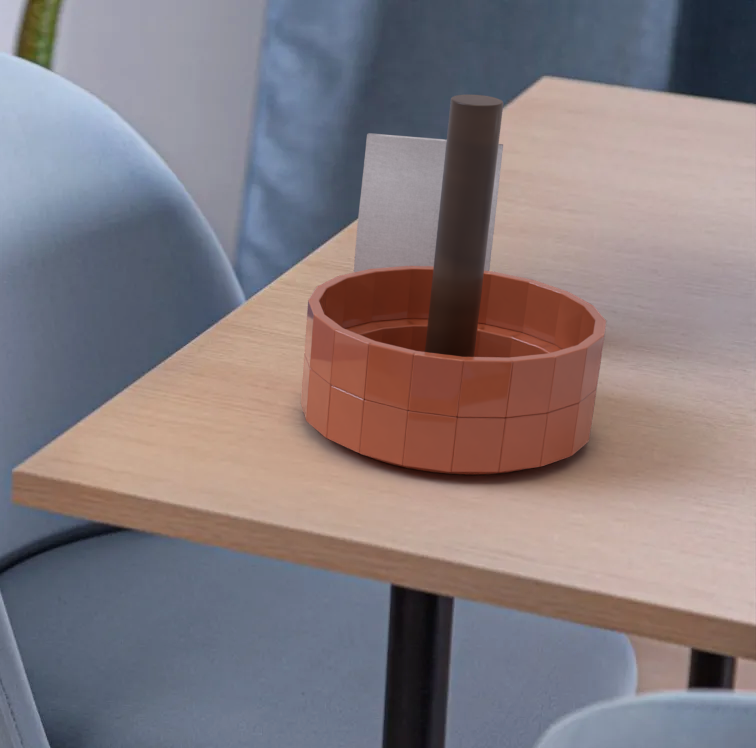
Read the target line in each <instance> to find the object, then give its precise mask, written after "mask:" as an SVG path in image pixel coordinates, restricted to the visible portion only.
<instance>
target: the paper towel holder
mask: <svg viewBox="0 0 756 748" xmlns="http://www.w3.org/2000/svg"><path fill="white" fill-rule="evenodd" d="M503 111H504V101H503V100H502V99H499V98H497V97H494V96H489V95H483V94H457V95H454V96H452V97H451V98H450V102H449V111H448V121H447V131H446V140H447V141H446V151H445V160H444V170H443V180H442V190H441V199H440V209H439V219H438V228H437V238H436V248H435V258H434V267H433V277H432V287H431V297H430V306H429V316H428V326H427V336H426V345H425V352H428V353H436V354H445V355H453V356H461V357H474V354H475V345H476V336H477V328H478V319H479V310H480V302H481V293H482V284H483V276H484V267H485V258H486V250H487V241H488V232H489V224H490V215H491V206H492V198H493V189H494V180H495V172H496V163H497V154H498V146H499V144H500V136H501V128H502V127H501V126H502V119H503Z"/></svg>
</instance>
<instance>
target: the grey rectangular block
mask: <svg viewBox="0 0 756 748" xmlns="http://www.w3.org/2000/svg"><path fill="white" fill-rule="evenodd" d="M446 141H447V139H445V138H444V139H443V138H431V137H419V136H409V135H408V136H406V135H396V134H395V135H394V134H384V133H382V134H381V133H371V132H368V133H367V134H366V142H365V152H364V161H363V171H362V181H361V190H360V199H359V208H358V216H357V224H356V225H357V227H356V238H355V252H354V262H353V263H354V264H353V272H358V271H362V270H367V269H373V268H386V267H398V266H434V258H435V248H436V238H437V228H438V219H439V209H440V199H441V190H442V180H443V170H444V160H445V151H446ZM503 151H504V144H503V143H499V146H498V154H497V163H496V172H495V180H494V189H493V198H492V206H491V215H490V224H489V232H488V241H487V250H486V258H485V267H484V270H485V271H490V269H491V268H490V267H491V259H492V250H493V244H494V243H493V242H494V233H495V225H496V217H497V206H498V199H499V197H498V196H499V187H500V179H501V168H502V159H503Z"/></svg>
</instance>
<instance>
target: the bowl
mask: <svg viewBox="0 0 756 748" xmlns="http://www.w3.org/2000/svg"><path fill="white" fill-rule="evenodd" d="M433 267H434V266H398V267H386V268H373V269H367V270H362V271H358V272H354V271H353V272H350V273H345V274H340V275H337V276H335V277H333V278H331V279H328V280H326V281H325V282H322V283H321V284H318V285H317V286H316V287H315V289H314V290H313V291H312V293H311V295H310V297H309V298H308V300H307V310H306V311H307V312H306V323H305V324H306V327H305V328H306V329H305V337H304V338H305V339H304V352H303V365H302V366H303V367H302V381H301V393H300V394H301V395H300V396H301V397H300V405H301V409H302V413H303V415H304V417H305V421H306V423H308V424H309V425H310V426H311V427H312V428H314V429H315V430H316V431H317V432H318V433H320V434H321V436H323V437H324V438H325V439H328V440H330V441H332V442H334V443H336V444H338V445H340V446H342V447H345V448H347V449H348V450H351V451H353V452H355V453H357V454H360V455H363V456H366V457H368V458H370V459H373V460H376V461H379V462H383V463H386V464H389V465H393V466H398V467H402V468H405V469H406V468H407V469H411V470H416V471H417V470H418V471H424V472H429V473H430V472H431V473H439V474H448V475H450V474H451V475H476V476H477V475H497V474H505V473H512V472H518V471H523V470H528V469H533V468H535V469H536V468H540V467H544V466H547V465H551V464H554V463H557V462H558V461H563V460H565V459H567V458H570V457H572V456H574V454H576V453H578V451H580V450H581V449H582V448H583V447H585V445H586V444H588V443H589V442H590V438H591V430H592V424H593V417H594V411H595V405H596V404H595V403H596V396H597V389H598V383H599V376H600V369H601V363H602V356H603V350H604V343H605V337H606V330H607V329H606V328H607V320H606V319H605V317H604V316H603V315H602V314H601V312H599V309H597V308H596V306H595V305H593V304H591V303H589V302H588V301H586V300H584V299H583V298H581V297H579V296H577V295H576V294H574V293H572V292H570V291H568V290H565V289H561V288H559V287H556V286H553V285H550V284H547V283H544V282H541V281H539V280H535V279H531V278H526V277H521V276H518V275H512V274H507V273H502V272H499V271H492V270H489V271H485V270H484V276H483V284H482V293H481V302H480V310H479V319H478V328H477V336H476V345H475V354H474V357H461V356H453V355H445V354H436V353H428V352H425V345H426V336H427V326H428V316H429V306H430V297H431V287H432V277H433Z"/></svg>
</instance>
